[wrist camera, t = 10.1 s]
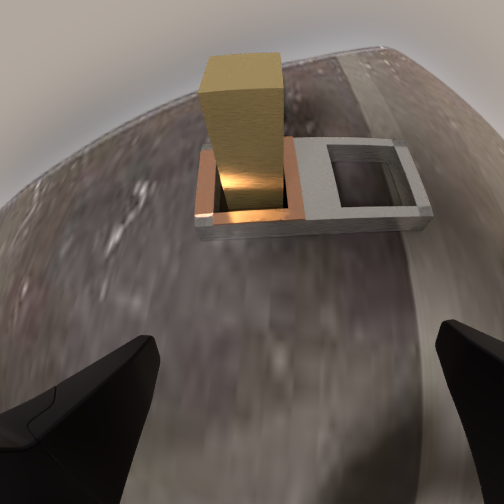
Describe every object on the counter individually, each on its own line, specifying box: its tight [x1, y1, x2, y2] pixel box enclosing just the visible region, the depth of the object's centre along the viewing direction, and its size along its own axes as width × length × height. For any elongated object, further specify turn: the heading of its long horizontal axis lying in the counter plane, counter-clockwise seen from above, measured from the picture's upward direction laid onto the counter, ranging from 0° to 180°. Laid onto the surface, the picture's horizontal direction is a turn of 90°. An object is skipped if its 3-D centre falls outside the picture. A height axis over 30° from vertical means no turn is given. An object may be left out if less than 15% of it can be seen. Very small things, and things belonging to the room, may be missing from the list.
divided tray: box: [194, 136, 434, 241], centre depth 25 cm, size 20×9×3 cm, turn 92°
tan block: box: [198, 53, 284, 212], centre depth 20 cm, size 4×4×13 cm
